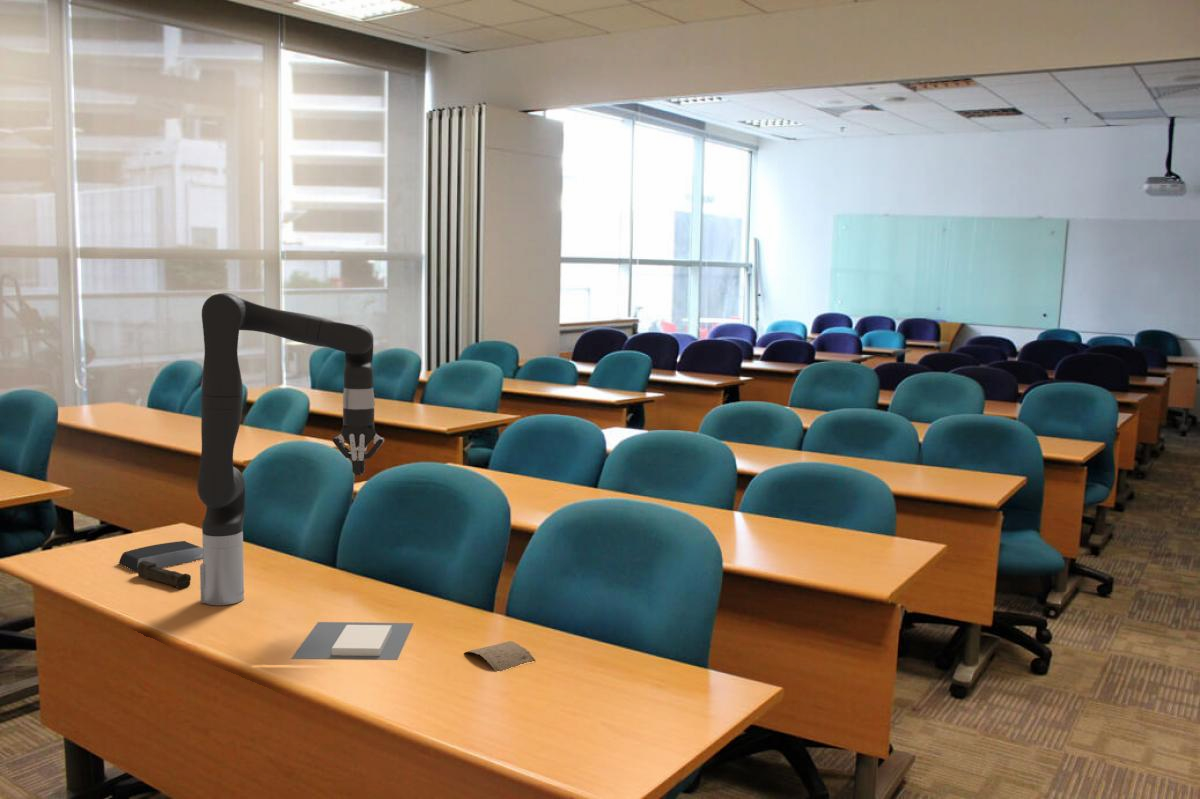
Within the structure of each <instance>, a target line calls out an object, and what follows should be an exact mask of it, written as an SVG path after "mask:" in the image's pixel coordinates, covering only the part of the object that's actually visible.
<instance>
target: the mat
mask: <svg viewBox="0 0 1200 799" xmlns="http://www.w3.org/2000/svg"><path fill="white" fill-rule="evenodd" d="M346 625H392V633H391V635H390V637H389V639H388V641H387V643H386V645H385V646H384V648H383V650H382V652H381V654H380V656H345V655H332V647H333V646H334V644H335V642H336V641H337V639H338V638H339V636H340V635H341V633H342V632H343V630H344V629H345V627H346ZM413 626H414V623H413V622H361V621H360V622H357V621H356V622H352V621H349V622H348V621H343V622H342V621H338V622H337V621H318V622H316V624H315V626H314V627H313V628H312V630H311V631H310V632H309V634H307V636H306V637H305V639H304V640H303V641H302V643H301V644H300V646H299V647H298V648H297V650H296V651H295V653H293V655H292V656H291V658H290V659H291V660H354V661H355V660H357V661H358V660H363V661H364V660H365V661H367V660H372V661H376V660H377V661H378V660H380V661H398V659H399V657H400V655H401V653H402V650H403V648H404V646H405V643H406V641H407V640H408V637H409V636H410V633H411V630H412V628H413Z"/></svg>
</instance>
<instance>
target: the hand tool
mask: <svg viewBox="0 0 1200 799" xmlns="http://www.w3.org/2000/svg"><path fill="white" fill-rule="evenodd" d="M137 570H138V572H137V575H138V577H139V578H140V579H143V580H145V581H155V582H157V583H158V582H160V583H162V584H166V585H169V586H172V587H175V588H177V589H178V590H183V589H187V588H189V586H190V585H191V580H192V579H191V578H192V576H191V575H190V574H189V573H180V572H178V571H175V570H168V569H165V568H160V567H156V564H155V563H151V562H148V561H141V562H140V563H139V564H138V567H137Z"/></svg>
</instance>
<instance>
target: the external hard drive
mask: <svg viewBox="0 0 1200 799" xmlns="http://www.w3.org/2000/svg"><path fill="white" fill-rule="evenodd" d="M200 559H203V546H202V547H201V546H199V545H196V544H193V543H190V542H188V541H186V540H180V541H171V542H170V541H169V542H165V543H158V544H153V545H147V546H142V547H138V548H134V549H131V550H127V551H124V552H123V553H122V554H121V556H120V559H119V562H118V564H119V563H120V564H122V565H124V566H126V567H125V568H127V567H128V568H127V569H129V568H130V570H131V569H132V570H131V571H133V570H134V572H136V573H138V570H137V567H138V564H139V563H140V562H141V561H148V562H151V563H155V564H156V567H160V568H162V569H165V568H164V567H166V568H169V567H168V566H171V567H174V566H173V565H176V566H179V565H178V564H181V565H184V564H183V563H186V564H189V563H188V562H190V563H193V562H192V561H194V562H197V561H196V560H199V561H201V560H200ZM120 564H119V565H120ZM122 565H121V566H122ZM124 566H123V567H124Z"/></svg>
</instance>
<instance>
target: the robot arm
mask: <svg viewBox="0 0 1200 799" xmlns="http://www.w3.org/2000/svg"><path fill="white" fill-rule="evenodd" d="M201 322H202V331H203V332H202V334H203V346H204V356H203V357H204V358H203V359H204V360H203V366H202V377H201V378H202V379H201V380H202V381H201V392H200V393H201V397H200V398H201V400H200V401H201V402H200V404H201V405H200V406H201V407H200V410H201V412H200V413H201V414H200V415H201V417H200V418H201V421H200V423H201V425H200V426H201V427H200V428H201V430H200V431H201V432H200V433H201V455H200V462H199V468H198V469H199V471H198V477H197V478H198V479H197V484H196V486H197V487H196V488H197V494H198V496H199V500H200V501H201V502H202V503H203V504H204V505H205V506H206V511H205V515H204V518H203V521H202V523H201V524H202V525H201V526H202V527H201V529H202V530H201V532H202V533H201V534H202V548H203V560H202V563H201V564H200V565H199V577H200V578H199V581H200V585H199V586H200V587H199V588H200V604H205V605H206V604H207V605H209V606H210V605H211V606H228V605H234V604H238V603H240V602H242V601H243V600H245V586H244V585H245V583H244V582H245V581H244V579H245V578H244V575H245V572H244V569H245V568H244V532H243V531H244V530H243V529H244V528H243V527H244V520H245V515H246V483H245V481H246V480H245V478H244V475H243V473H242V472H241V471H240V470H239V469H238V468H237V467H235V466H234V451H235V450H234V448H235V444H236V440H237V437H238V433H239V430H240V425H241V422H242V415H243V403H244V402H243V400H244V399H243V390H244V389H243V387H244V386H243V380H242V374H241V368H240V364H239V357H238V347H239V334H240V331H249V332H259V333H266V334H269V335H273V336H277V337H280V338H283V339H286V340H289V341H293V342H296V343H302V344H307V345H310V346H311V345H312V346H317V347H322V348H323V347H324V348H330V349H333V350H336V351H339V352H343V353H344V354H345V357H344V359H345V364H344V365H345V366H344V369H343V370H344V371H343V393H342V428H341V430H340V434H339V435H338V436H335V437H333V438H332V443H334V445H335V446H336V448H338V450H339V451H340V452H341V454H342V455H343V457H344V458H346V459H349V460H351V462H352V465H351V467H352V469H351V470H352V473H353V474H354V476H363V474H364V473H365V472H366V460H367V459H368V460H369V459H371V458H372V457H373V456H374V454H375V453H376V452H377V451H378V450H379V448H381V446H382V445H383V444H384V442H385V440H386V439H385V438H384V437H381V436H380V435H378V433H377V430H376V427H375V406H376V405H375V403H376V402H375V393H374V370H373V361H374V360H373V359H374V358H373V357H374V335H373V332H372V330H371V329H369V327H367V326H365V325H362V324H349V323H343V322H337V321H334V320H331V319H328V318H325V317H320V316H318V315H317V316H316V315H311V314H307V313H306V314H305V313H300V312H294V311H288V310H282V309H277V308H273V307H272V308H271V307H268V306H264V305H260V304H257V303H255V302H251V301H248V300H246V299H244V298H241V297H238V296H237V295H235V294H233V293H229V292H225V293H224V292H222V293H215V294H212V295H211V296H209V297H208V298H207V299H206V300H205V301H204V302H203V305H202V309H201ZM344 442H346V443H347V444H348V446H350V449H349V448H348V446H347V445H346V444H345V443H344ZM371 442H373V446H372V447H371V449H369V451H368V452H367V448H368V445H370V443H371Z"/></svg>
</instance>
